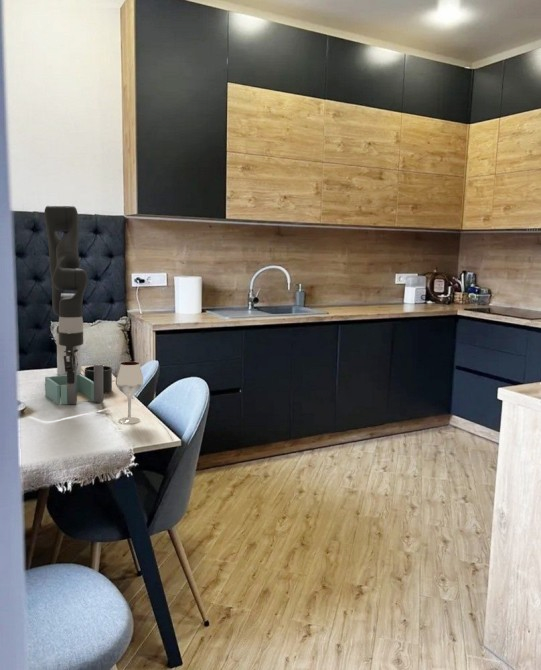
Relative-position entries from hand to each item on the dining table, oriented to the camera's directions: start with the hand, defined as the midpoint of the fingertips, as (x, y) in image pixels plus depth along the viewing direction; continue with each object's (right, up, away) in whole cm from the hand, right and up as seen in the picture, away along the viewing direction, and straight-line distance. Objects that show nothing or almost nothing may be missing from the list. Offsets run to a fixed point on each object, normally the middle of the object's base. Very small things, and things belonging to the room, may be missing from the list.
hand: (71, 381), depth 182 cm
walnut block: (-5, -6, +10) cm, 12 cm away
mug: (+2, -6, +21) cm, 22 cm away
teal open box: (-4, -7, +9) cm, 12 cm away
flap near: (-1, -7, +1) cm, 8 cm away
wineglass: (+22, -11, -12) cm, 28 cm away
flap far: (+7, -7, +5) cm, 11 cm away
